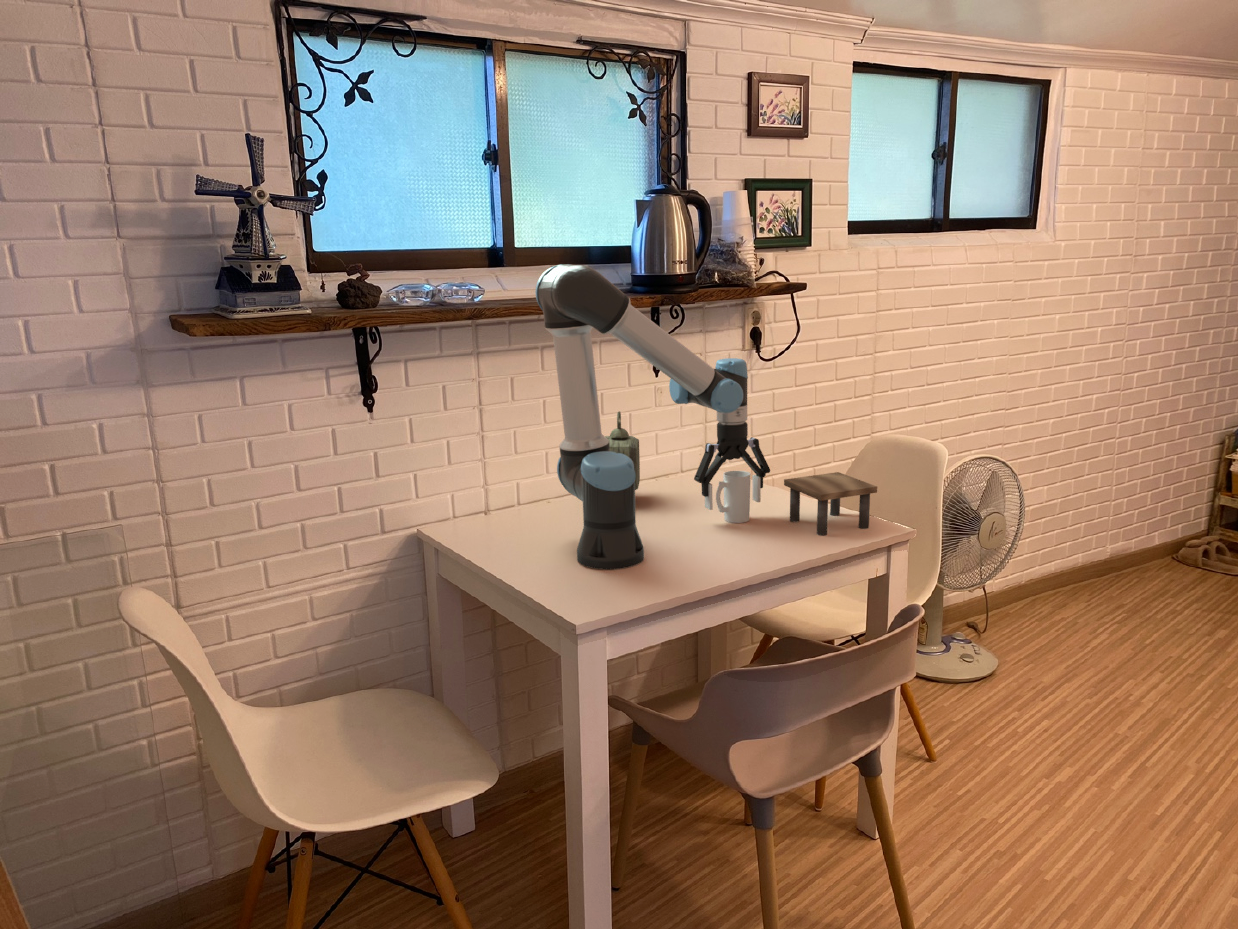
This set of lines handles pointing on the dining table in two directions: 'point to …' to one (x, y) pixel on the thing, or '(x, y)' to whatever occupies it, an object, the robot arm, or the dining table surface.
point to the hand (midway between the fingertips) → (732, 504)
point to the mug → (735, 496)
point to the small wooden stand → (829, 496)
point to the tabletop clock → (625, 447)
